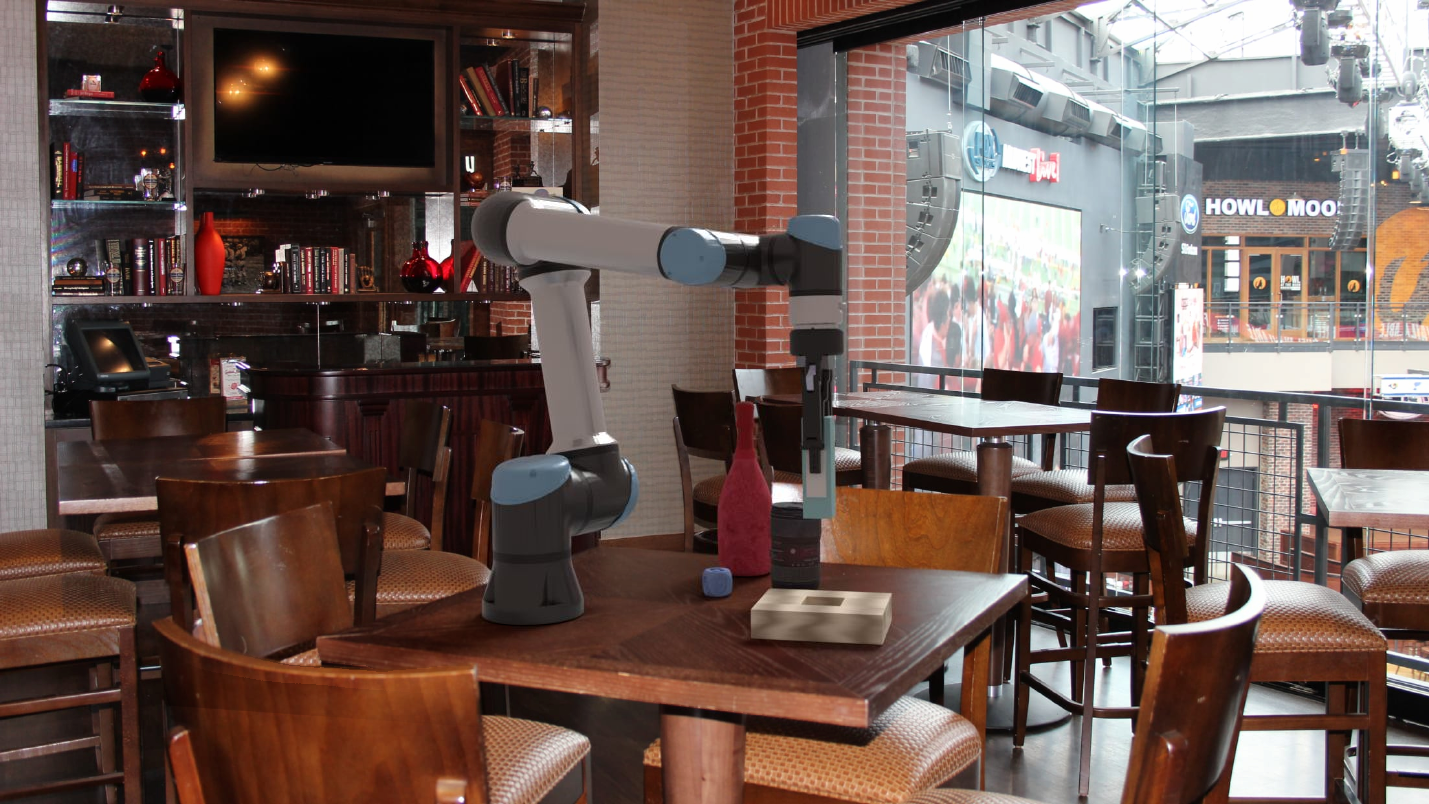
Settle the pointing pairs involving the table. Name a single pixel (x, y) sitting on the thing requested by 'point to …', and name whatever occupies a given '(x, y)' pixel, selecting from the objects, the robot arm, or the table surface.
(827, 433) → the peg
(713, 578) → the decorative dice
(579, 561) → the table surface
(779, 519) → the camera lens
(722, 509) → the wine bottle
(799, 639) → the socket block
